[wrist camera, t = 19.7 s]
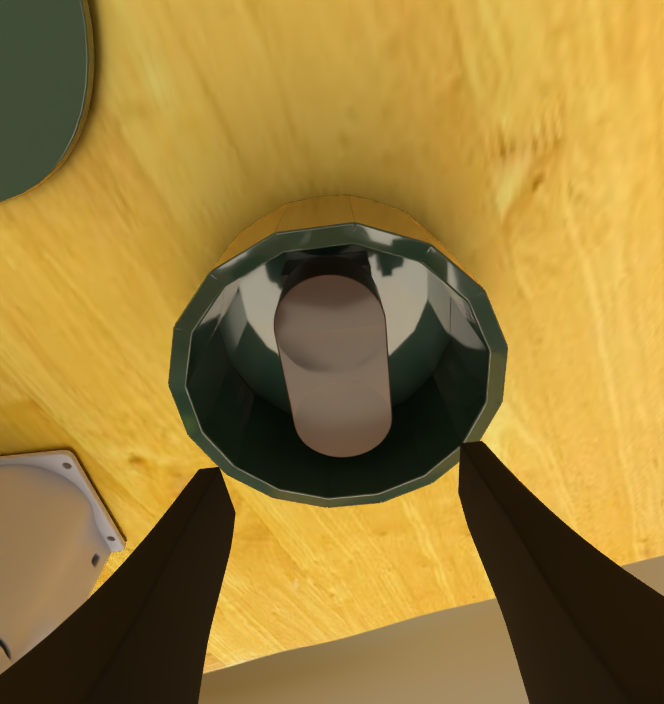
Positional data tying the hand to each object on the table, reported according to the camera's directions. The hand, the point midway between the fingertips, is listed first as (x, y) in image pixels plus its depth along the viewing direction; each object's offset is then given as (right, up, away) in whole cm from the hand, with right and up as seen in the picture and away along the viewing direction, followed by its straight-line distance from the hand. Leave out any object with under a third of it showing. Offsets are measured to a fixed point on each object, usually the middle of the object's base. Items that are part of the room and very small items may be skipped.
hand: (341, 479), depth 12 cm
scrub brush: (0, +5, +9) cm, 10 cm away
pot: (0, +5, +9) cm, 10 cm away
